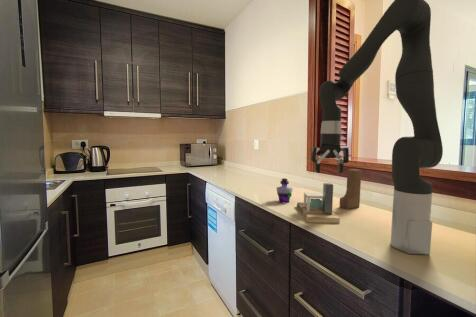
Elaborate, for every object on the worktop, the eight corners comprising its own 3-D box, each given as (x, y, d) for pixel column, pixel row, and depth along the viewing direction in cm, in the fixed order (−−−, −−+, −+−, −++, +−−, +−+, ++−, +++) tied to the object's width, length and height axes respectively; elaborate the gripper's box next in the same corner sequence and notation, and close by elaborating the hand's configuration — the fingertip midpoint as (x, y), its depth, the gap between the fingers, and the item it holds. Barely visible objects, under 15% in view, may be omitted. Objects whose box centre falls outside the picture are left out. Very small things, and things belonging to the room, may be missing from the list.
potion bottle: (289, 204, 121) (289, 180, 120) (272, 202, 126) (273, 178, 125) (294, 200, 129) (295, 178, 128) (279, 198, 133) (279, 176, 132)
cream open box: (328, 211, 103) (329, 196, 103) (307, 211, 104) (307, 195, 103) (323, 206, 110) (324, 192, 110) (303, 206, 111) (304, 192, 110)
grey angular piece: (332, 214, 99) (333, 184, 98) (312, 213, 100) (313, 184, 99) (324, 206, 110) (325, 180, 109) (306, 206, 110) (307, 180, 109)
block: (321, 210, 105) (322, 201, 105) (312, 210, 105) (312, 200, 105) (319, 207, 109) (319, 198, 109) (310, 207, 109) (310, 198, 109)
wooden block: (347, 209, 114) (349, 170, 112) (339, 207, 118) (340, 169, 116) (359, 207, 118) (361, 169, 116) (351, 204, 122) (353, 168, 120)
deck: (339, 223, 95) (339, 218, 95) (308, 222, 95) (308, 217, 95) (322, 207, 117) (322, 202, 117) (297, 206, 118) (297, 202, 118)
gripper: (315, 132, 95) (313, 174, 96) (352, 132, 94) (350, 174, 96) (310, 132, 102) (308, 171, 104) (345, 133, 102) (343, 172, 103)
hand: (328, 173), depth 100 cm, fingers open, 8 cm apart
